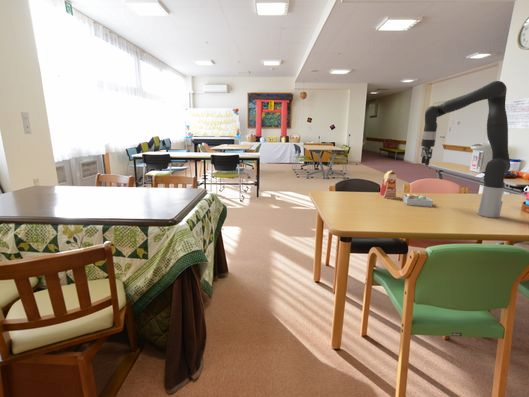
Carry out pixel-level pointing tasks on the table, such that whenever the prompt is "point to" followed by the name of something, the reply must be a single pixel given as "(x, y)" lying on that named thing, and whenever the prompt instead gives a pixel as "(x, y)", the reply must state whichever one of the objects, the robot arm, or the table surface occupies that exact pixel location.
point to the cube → (411, 196)
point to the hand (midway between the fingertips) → (424, 164)
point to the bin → (417, 201)
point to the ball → (421, 198)
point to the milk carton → (389, 185)
